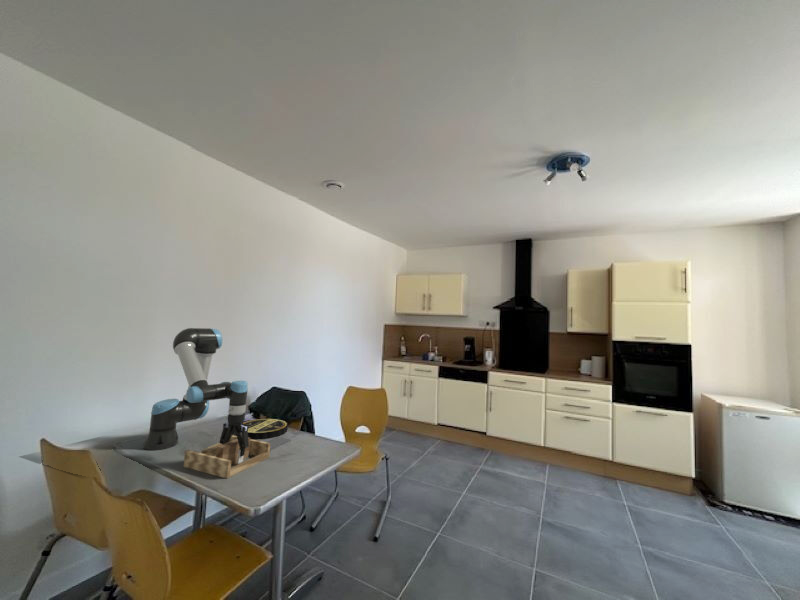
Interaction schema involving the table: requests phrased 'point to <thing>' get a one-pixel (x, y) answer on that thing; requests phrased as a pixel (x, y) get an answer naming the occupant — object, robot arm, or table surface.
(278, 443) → the mat
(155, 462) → the table surface
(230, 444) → the brown wooden block
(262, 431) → the sign
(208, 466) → the rack
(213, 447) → the slab short
